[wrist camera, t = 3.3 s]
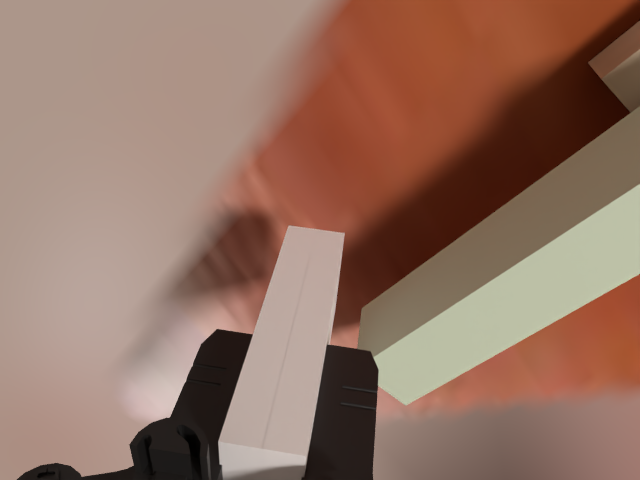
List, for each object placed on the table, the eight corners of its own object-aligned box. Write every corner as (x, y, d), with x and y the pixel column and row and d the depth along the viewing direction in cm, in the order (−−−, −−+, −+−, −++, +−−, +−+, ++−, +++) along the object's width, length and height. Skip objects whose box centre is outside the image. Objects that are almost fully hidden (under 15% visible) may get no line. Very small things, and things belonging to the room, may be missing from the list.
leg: (780, -19, 11) (892, 21, 8) (846, 78, 12) (965, 141, 9) (352, 301, 17) (342, 378, 15) (414, 349, 18) (415, 430, 15)
